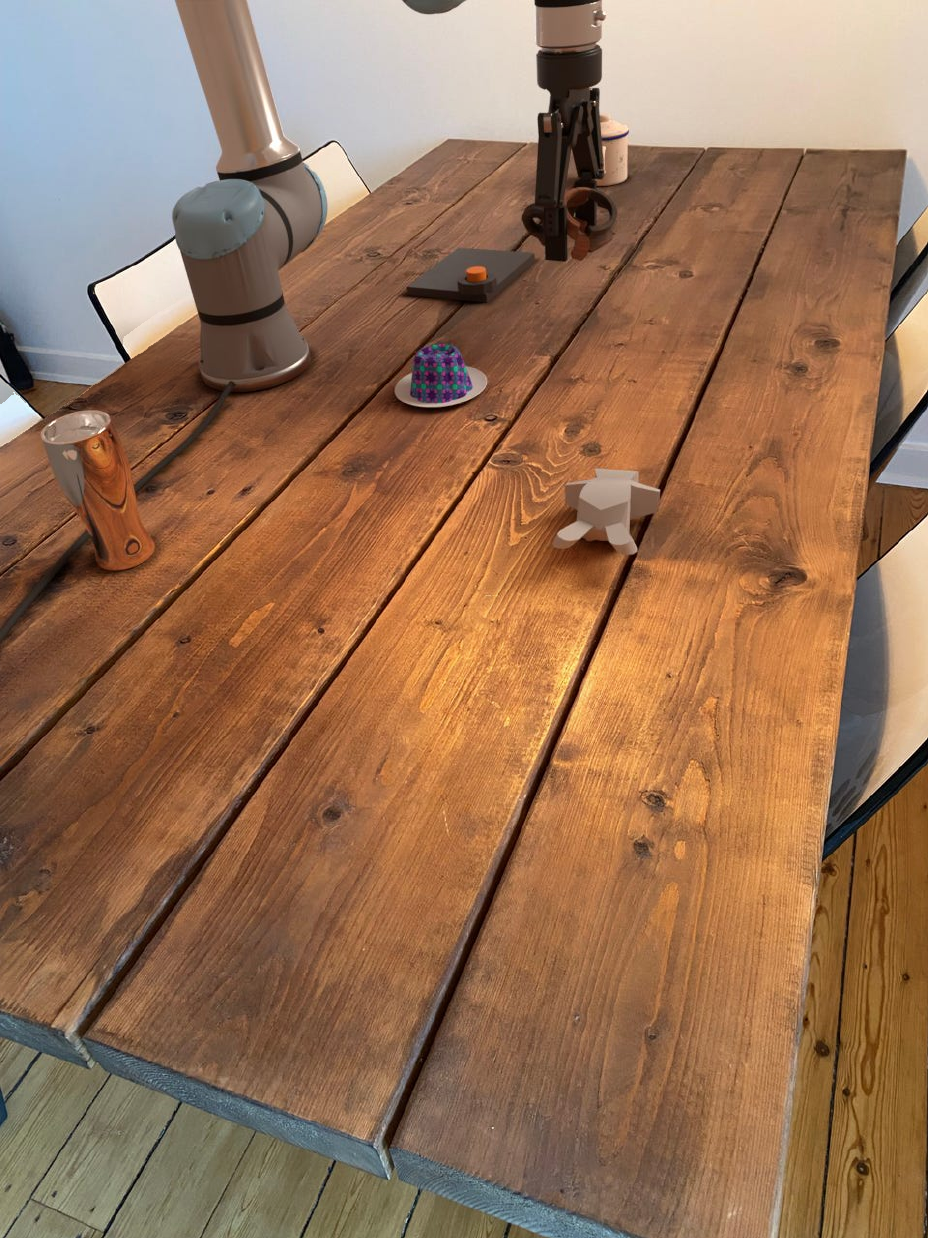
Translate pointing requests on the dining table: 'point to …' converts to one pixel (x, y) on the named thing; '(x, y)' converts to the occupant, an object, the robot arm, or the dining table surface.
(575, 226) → the rusty split ring clamp
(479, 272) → the button
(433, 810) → the dining table surface
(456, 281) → the scale
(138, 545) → the beer glass
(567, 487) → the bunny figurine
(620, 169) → the teacup with lid
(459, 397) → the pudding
